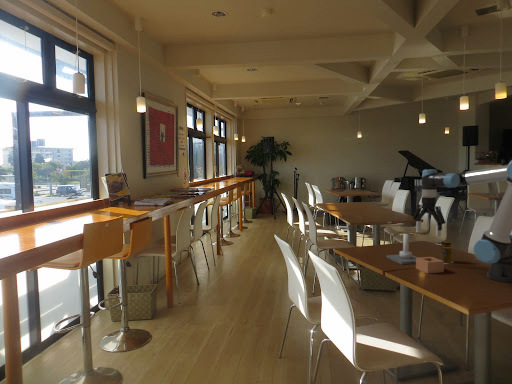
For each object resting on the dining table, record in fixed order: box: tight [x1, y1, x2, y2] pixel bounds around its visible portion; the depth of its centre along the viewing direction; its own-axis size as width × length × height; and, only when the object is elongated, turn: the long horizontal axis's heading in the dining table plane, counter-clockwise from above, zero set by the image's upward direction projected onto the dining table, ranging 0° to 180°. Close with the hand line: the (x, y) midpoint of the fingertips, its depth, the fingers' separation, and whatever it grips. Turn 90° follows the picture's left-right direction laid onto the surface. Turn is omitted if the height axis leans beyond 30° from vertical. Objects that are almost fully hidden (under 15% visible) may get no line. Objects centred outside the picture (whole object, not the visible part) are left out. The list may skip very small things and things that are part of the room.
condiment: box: [439, 240, 455, 265], centre depth 223 cm, size 7×8×12 cm
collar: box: [415, 256, 445, 274], centre depth 206 cm, size 10×10×6 cm
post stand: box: [385, 233, 420, 265], centre depth 227 cm, size 16×16×16 cm
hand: (428, 234), depth 212 cm, fingers open, 13 cm apart
